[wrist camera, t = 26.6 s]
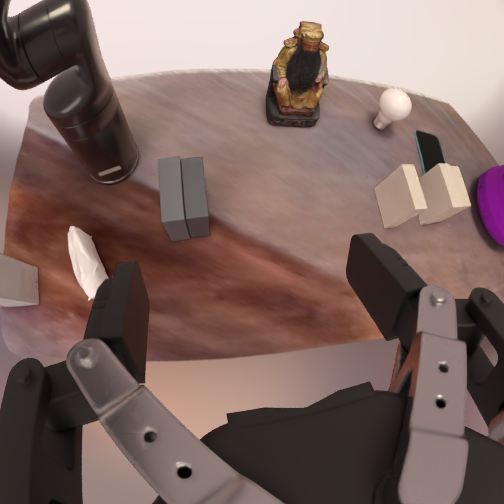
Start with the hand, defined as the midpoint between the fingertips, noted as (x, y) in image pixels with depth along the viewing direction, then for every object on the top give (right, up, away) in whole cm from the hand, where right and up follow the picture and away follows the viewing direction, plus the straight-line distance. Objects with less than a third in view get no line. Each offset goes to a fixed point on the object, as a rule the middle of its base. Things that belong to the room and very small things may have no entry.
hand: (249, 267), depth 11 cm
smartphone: (+38, +20, +45) cm, 62 cm away
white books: (+34, +10, +42) cm, 55 cm away
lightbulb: (+26, +26, +45) cm, 58 cm away
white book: (+24, +8, +40) cm, 48 cm away
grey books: (-10, +7, +36) cm, 38 cm away
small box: (-39, -5, +30) cm, 49 cm away
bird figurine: (-24, -2, +33) cm, 41 cm away
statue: (+8, +26, +43) cm, 51 cm away
